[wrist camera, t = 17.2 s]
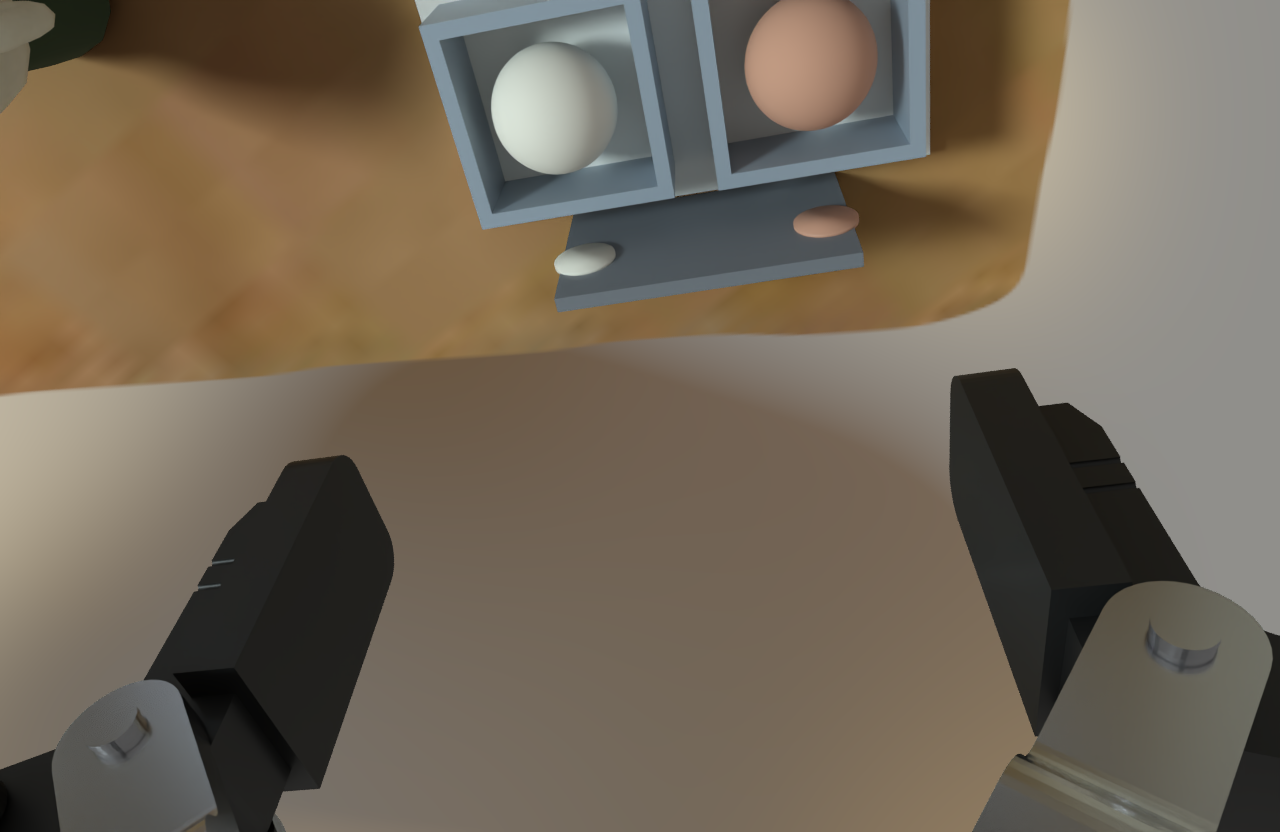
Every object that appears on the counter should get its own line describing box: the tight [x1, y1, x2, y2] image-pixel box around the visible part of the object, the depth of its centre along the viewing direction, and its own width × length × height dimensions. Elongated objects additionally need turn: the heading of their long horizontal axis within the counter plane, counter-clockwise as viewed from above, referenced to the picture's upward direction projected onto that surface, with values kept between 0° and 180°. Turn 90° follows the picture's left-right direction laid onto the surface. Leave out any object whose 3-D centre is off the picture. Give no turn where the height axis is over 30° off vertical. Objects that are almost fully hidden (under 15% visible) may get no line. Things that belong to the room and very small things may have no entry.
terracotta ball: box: [744, 0, 878, 131], centre depth 35 cm, size 5×5×5 cm
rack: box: [415, 0, 930, 230], centre depth 36 cm, size 11×20×4 cm, turn 101°
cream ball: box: [491, 42, 618, 175], centre depth 36 cm, size 5×5×5 cm
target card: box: [554, 172, 864, 312], centre depth 38 cm, size 1×13×8 cm, turn 102°
